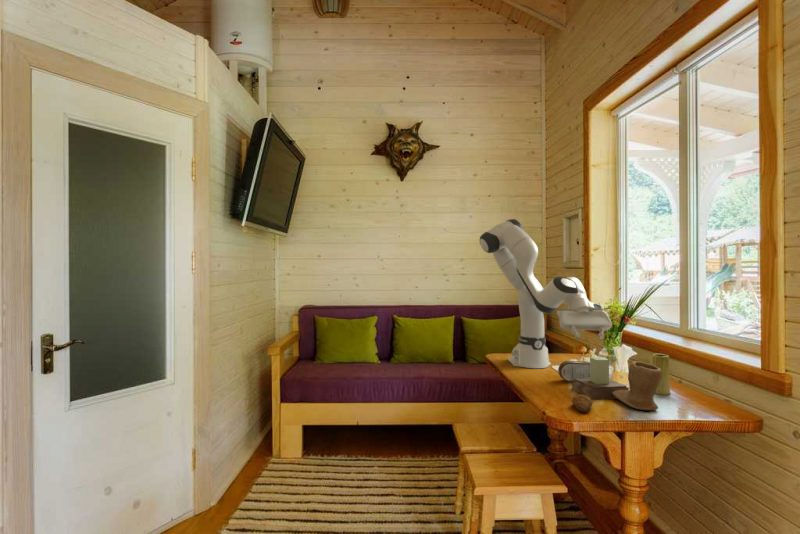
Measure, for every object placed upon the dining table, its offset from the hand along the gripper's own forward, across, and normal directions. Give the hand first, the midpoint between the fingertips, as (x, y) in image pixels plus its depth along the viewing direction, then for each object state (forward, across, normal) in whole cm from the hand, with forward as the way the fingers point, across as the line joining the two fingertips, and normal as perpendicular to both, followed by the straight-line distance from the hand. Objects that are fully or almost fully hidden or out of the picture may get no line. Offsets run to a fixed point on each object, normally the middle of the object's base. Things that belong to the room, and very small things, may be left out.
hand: (590, 337), depth 172 cm
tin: (+9, -1, +20) cm, 22 cm away
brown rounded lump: (+32, -13, -4) cm, 35 cm away
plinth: (+20, 0, +8) cm, 21 cm away
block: (+17, 0, +5) cm, 18 cm away
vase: (+20, +24, +8) cm, 32 cm away
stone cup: (+30, +7, -3) cm, 31 cm away
